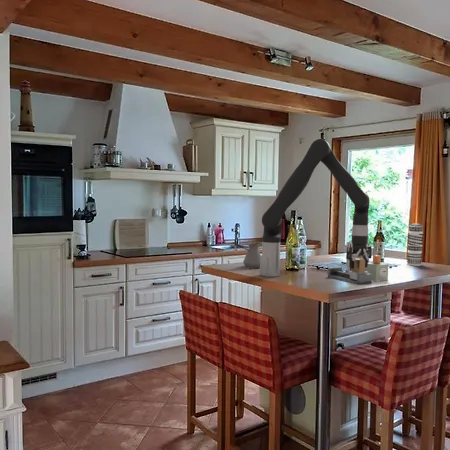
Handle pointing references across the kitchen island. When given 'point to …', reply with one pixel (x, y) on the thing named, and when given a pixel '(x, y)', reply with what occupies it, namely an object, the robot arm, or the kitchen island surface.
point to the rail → (359, 277)
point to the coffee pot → (251, 256)
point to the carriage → (357, 268)
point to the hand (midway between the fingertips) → (358, 267)
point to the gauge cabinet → (377, 271)
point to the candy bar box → (354, 254)
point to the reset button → (376, 259)
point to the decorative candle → (415, 245)
